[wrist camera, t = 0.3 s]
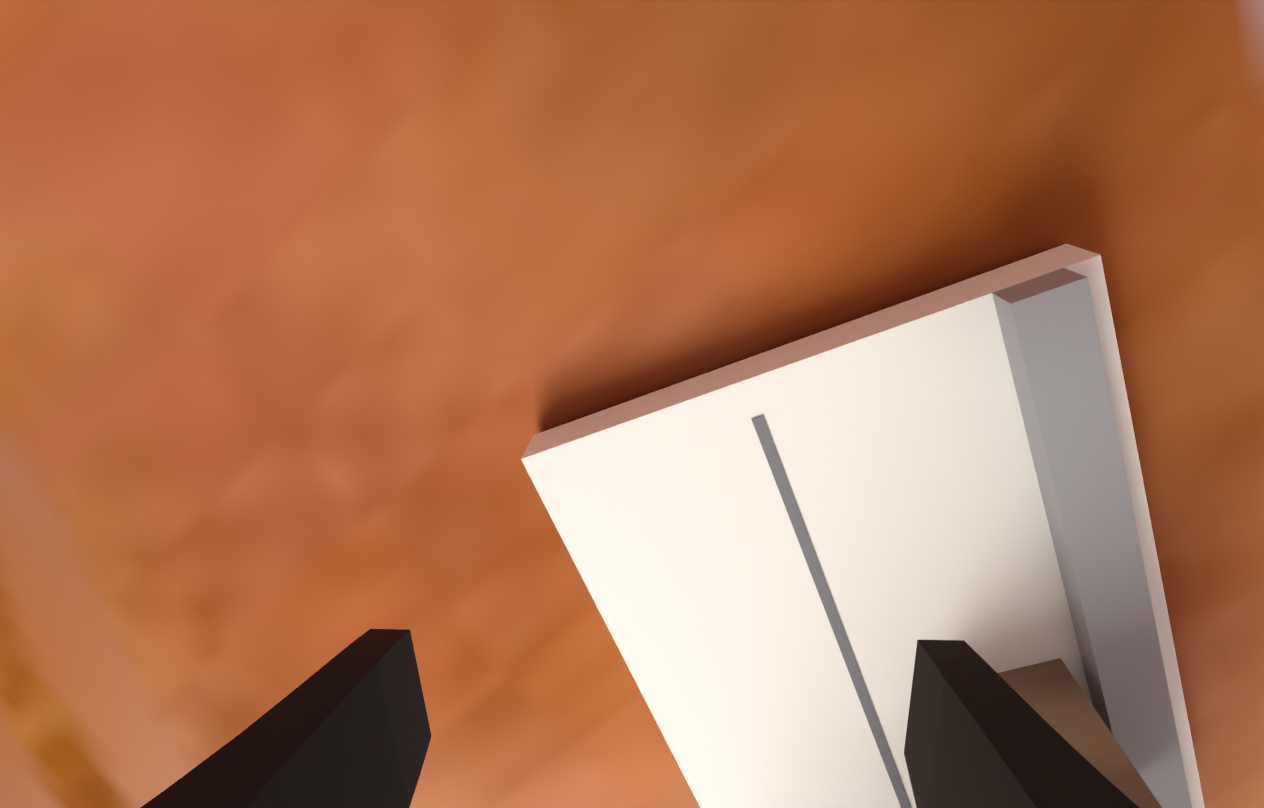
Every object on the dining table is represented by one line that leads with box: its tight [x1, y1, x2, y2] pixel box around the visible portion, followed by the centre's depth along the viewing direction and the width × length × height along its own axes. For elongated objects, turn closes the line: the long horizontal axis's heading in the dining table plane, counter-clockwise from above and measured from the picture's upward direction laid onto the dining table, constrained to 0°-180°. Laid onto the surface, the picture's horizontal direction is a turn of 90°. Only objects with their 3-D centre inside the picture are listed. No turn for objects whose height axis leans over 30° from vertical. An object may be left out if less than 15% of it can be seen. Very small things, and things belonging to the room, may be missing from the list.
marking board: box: [521, 244, 1205, 808], centre depth 20 cm, size 18×14×2 cm
